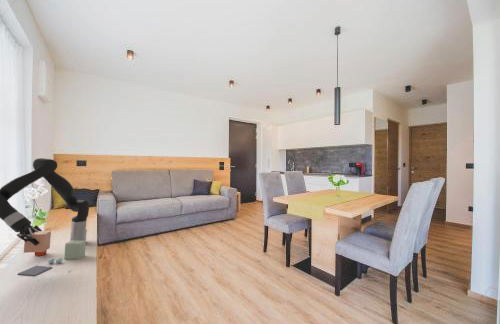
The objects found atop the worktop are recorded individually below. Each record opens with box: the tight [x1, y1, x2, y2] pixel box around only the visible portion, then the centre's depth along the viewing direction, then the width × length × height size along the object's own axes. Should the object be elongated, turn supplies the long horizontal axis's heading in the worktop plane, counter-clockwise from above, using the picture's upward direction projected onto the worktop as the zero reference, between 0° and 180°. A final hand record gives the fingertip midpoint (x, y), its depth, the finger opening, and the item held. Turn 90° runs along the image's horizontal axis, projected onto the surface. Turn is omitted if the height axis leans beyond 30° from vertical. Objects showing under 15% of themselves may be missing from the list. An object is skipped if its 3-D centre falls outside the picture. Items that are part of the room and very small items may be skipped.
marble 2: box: [55, 257, 63, 264], centre depth 138 cm, size 3×3×3 cm
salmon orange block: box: [23, 230, 52, 254], centre depth 127 cm, size 9×6×10 cm, turn 106°
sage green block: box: [63, 240, 87, 260], centre depth 147 cm, size 9×6×10 cm, turn 97°
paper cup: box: [34, 249, 48, 257], centre depth 149 cm, size 8×8×14 cm
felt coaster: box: [17, 265, 53, 277], centre depth 126 cm, size 10×10×1 cm
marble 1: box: [47, 257, 56, 264], centre depth 137 cm, size 3×3×3 cm
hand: (41, 242), depth 127 cm, fingers closed on salmon orange block, 6 cm apart
